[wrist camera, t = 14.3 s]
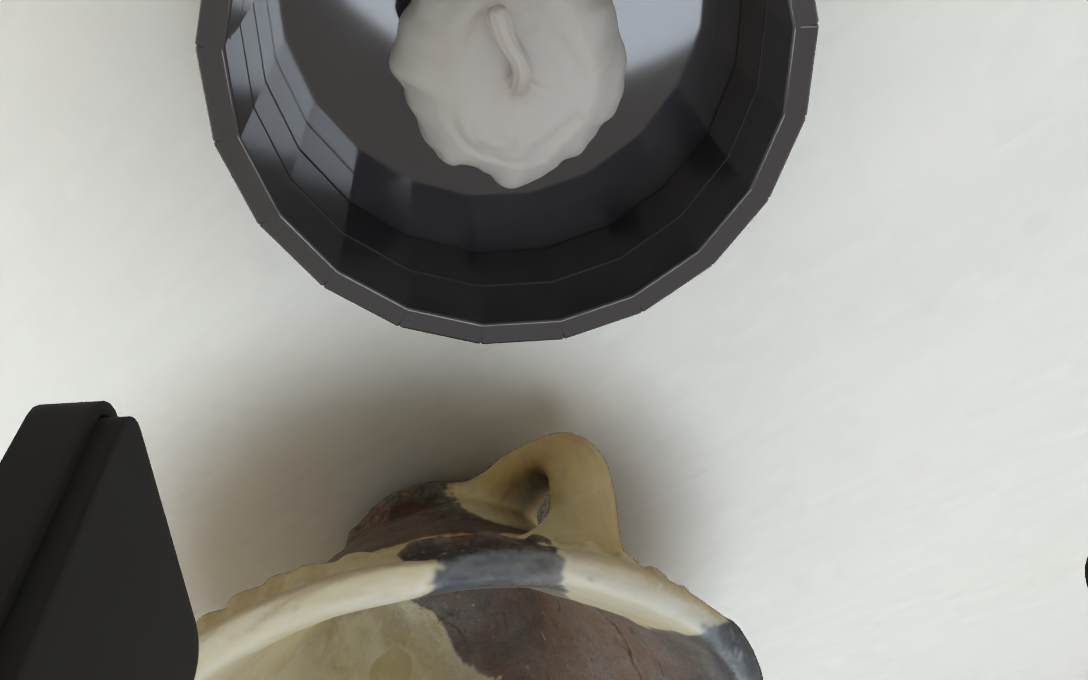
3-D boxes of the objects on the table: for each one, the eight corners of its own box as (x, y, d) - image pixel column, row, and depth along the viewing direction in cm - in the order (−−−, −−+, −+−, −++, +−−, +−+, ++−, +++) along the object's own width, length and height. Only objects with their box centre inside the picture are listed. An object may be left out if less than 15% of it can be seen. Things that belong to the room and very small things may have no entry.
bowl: (495, 780, 41) (512, 1036, 33) (82, 610, 34) (-23, 885, 26) (803, 513, 35) (915, 749, 27) (379, 238, 28) (360, 448, 20)
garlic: (405, -117, 23) (401, -78, 19) (632, -78, 24) (680, -33, 19) (382, 132, 26) (374, 216, 22) (585, 158, 27) (616, 243, 22)
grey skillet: (185, -274, 21) (132, -273, 18) (787, -279, 22) (860, -280, 19) (277, 273, 28) (254, 358, 25) (733, 248, 29) (779, 327, 26)
